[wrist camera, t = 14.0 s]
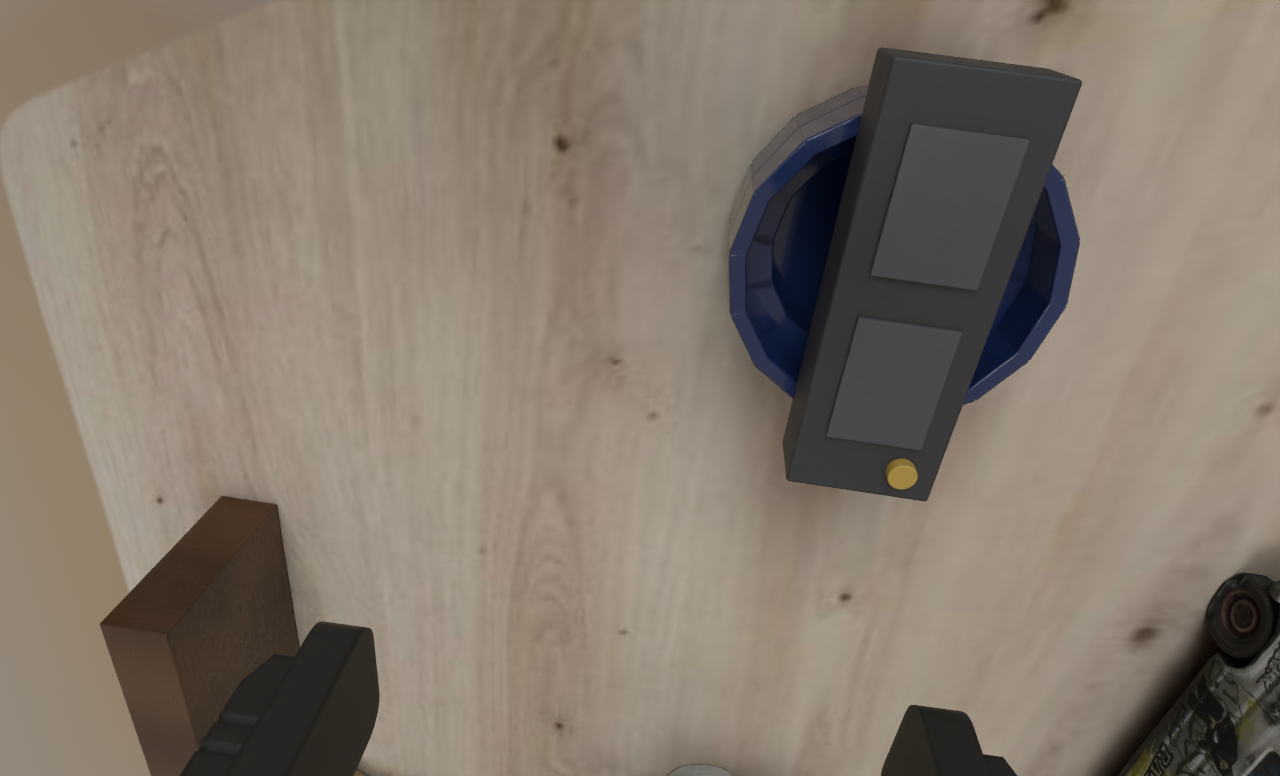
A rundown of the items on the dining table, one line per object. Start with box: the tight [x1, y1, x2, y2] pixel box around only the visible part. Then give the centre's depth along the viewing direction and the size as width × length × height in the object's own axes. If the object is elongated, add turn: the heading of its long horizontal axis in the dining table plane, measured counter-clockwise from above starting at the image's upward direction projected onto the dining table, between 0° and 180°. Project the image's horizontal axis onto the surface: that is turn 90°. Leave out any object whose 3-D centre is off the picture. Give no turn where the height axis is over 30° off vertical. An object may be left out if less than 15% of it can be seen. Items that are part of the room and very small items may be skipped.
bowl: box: [729, 86, 1080, 405], centre depth 28 cm, size 11×11×5 cm
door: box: [783, 47, 1082, 501], centre depth 24 cm, size 14×5×3 cm, turn 174°
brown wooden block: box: [100, 496, 299, 776], centre depth 40 cm, size 16×3×9 cm, turn 174°
